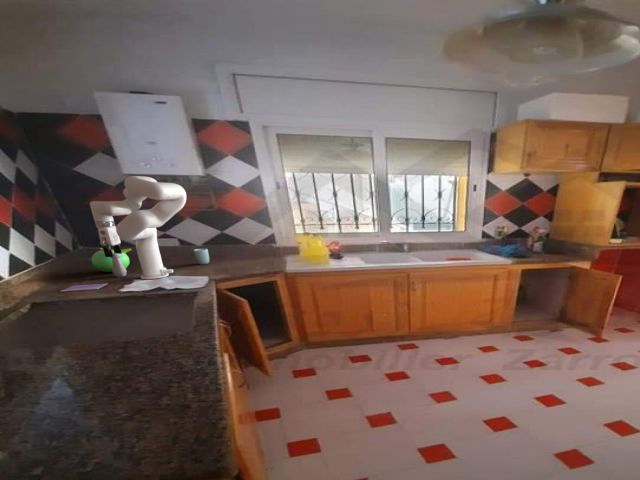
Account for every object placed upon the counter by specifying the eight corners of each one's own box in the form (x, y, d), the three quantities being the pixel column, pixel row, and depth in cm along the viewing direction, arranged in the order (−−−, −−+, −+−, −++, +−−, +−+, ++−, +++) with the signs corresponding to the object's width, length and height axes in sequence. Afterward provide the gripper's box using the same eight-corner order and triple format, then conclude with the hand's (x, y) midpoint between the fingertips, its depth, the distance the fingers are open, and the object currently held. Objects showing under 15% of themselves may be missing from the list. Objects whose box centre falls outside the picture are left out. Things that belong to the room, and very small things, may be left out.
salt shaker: (119, 277, 179) (112, 254, 175) (111, 276, 180) (104, 254, 176) (130, 274, 185) (124, 253, 181) (122, 274, 186) (116, 252, 182)
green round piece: (90, 273, 188) (82, 248, 184) (125, 267, 203) (118, 244, 198) (104, 276, 181) (96, 251, 176) (140, 270, 195) (133, 246, 191)
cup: (212, 263, 215) (209, 249, 212) (200, 265, 209) (196, 250, 206) (207, 262, 219) (204, 248, 216) (194, 264, 213) (191, 249, 210)
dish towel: (107, 284, 166) (107, 283, 166) (97, 289, 158) (96, 288, 157) (73, 286, 162) (72, 285, 162) (60, 292, 153) (59, 291, 153)
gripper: (105, 226, 167) (114, 257, 173) (121, 223, 182) (129, 252, 188) (87, 226, 165) (96, 258, 170) (105, 223, 180) (113, 252, 185)
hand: (114, 255), depth 179 cm, fingers open, 9 cm apart
